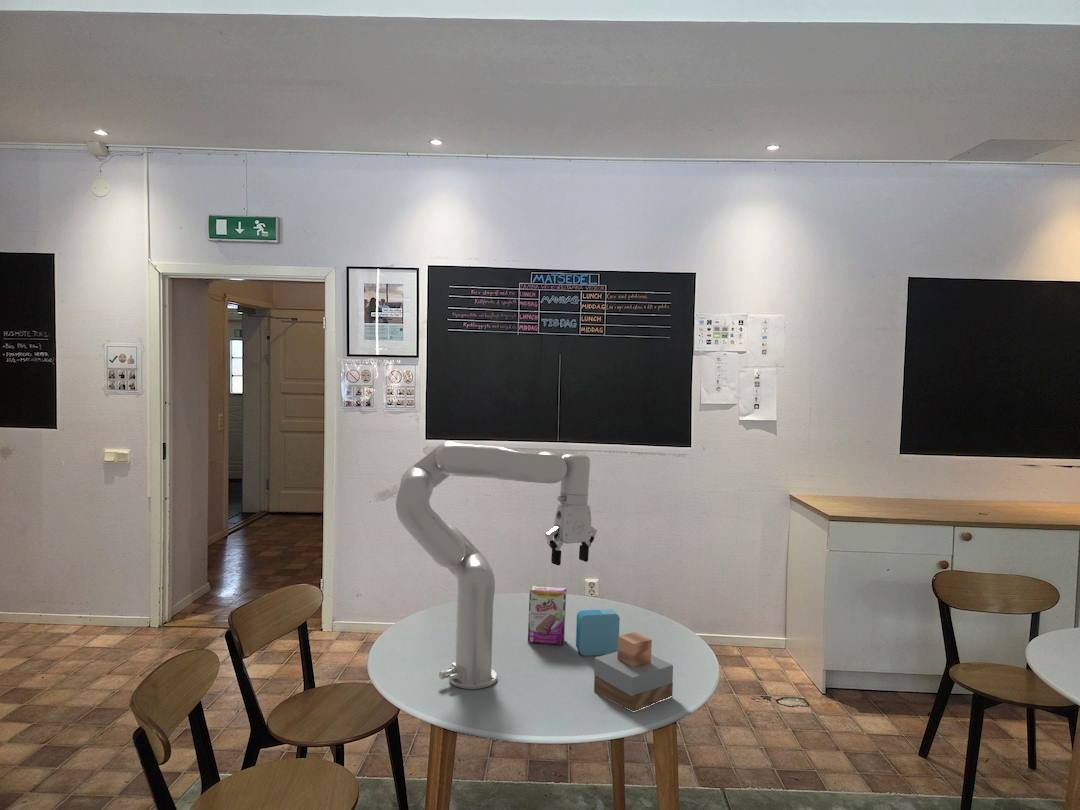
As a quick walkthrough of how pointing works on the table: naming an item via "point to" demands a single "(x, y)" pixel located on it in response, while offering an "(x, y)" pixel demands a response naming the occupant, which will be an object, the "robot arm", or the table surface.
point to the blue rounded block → (597, 632)
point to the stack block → (634, 649)
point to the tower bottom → (632, 701)
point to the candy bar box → (547, 615)
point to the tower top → (633, 674)
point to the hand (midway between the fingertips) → (569, 562)
